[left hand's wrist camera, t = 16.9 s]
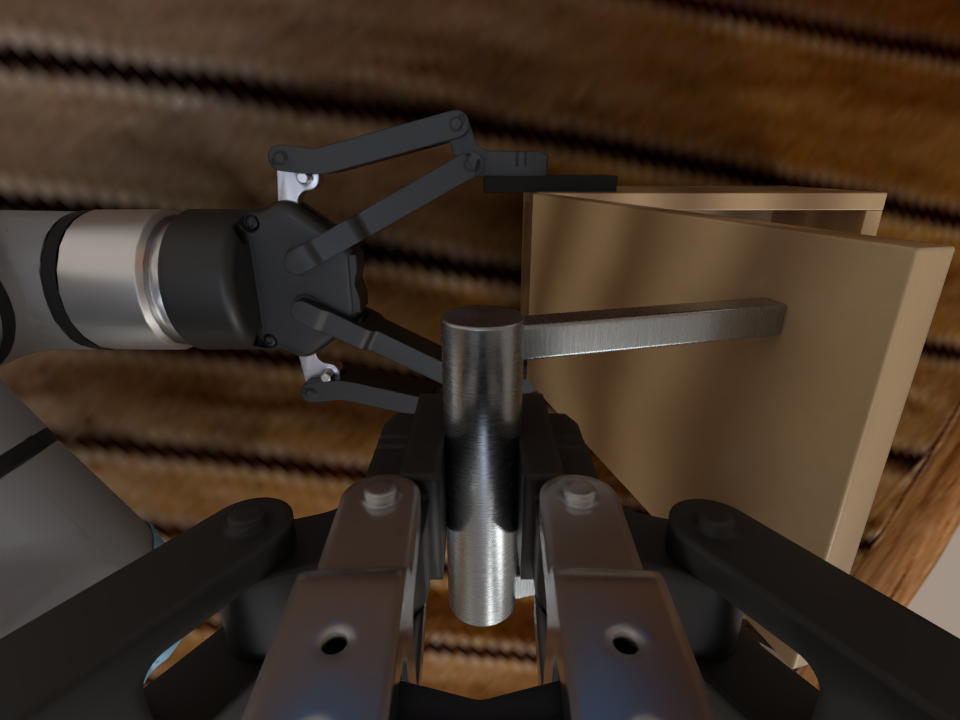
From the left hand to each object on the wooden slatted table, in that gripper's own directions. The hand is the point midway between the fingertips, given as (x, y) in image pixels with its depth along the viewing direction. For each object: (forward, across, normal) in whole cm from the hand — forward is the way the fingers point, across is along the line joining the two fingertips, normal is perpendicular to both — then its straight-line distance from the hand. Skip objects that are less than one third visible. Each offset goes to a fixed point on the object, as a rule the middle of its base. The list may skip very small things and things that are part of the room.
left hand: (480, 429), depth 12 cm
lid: (+6, -5, 0) cm, 8 cm away
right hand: (+17, -7, 0) cm, 18 cm away
